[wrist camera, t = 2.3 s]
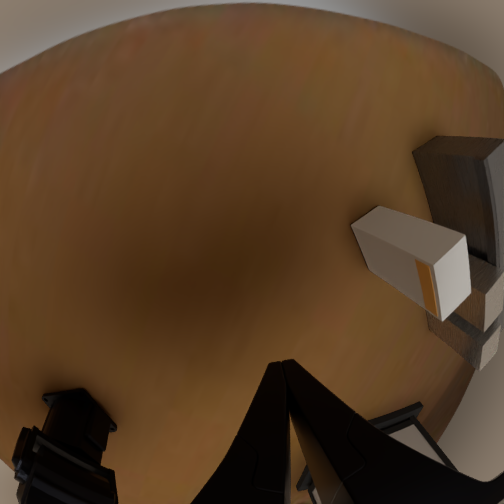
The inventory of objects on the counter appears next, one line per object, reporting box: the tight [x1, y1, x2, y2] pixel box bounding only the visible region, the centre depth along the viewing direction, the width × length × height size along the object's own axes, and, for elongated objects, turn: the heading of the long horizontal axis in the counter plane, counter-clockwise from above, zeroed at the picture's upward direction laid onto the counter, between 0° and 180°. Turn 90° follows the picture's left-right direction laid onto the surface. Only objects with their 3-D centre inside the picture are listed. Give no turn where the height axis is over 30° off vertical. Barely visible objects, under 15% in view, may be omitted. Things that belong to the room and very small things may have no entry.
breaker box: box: [412, 136, 504, 371], centre depth 19 cm, size 8×20×9 cm, turn 31°
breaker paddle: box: [351, 206, 471, 322], centre depth 17 cm, size 3×4×9 cm
